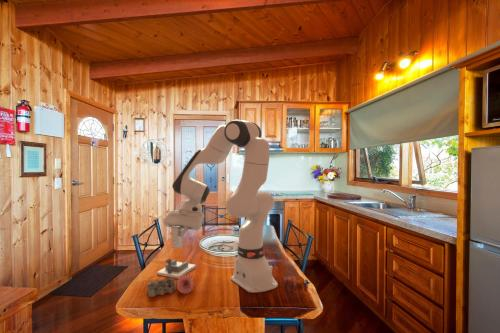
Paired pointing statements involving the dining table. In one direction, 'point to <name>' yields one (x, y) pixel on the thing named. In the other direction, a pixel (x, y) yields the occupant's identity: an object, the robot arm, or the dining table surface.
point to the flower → (185, 284)
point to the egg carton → (155, 287)
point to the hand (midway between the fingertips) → (176, 235)
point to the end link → (176, 237)
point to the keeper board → (175, 268)
